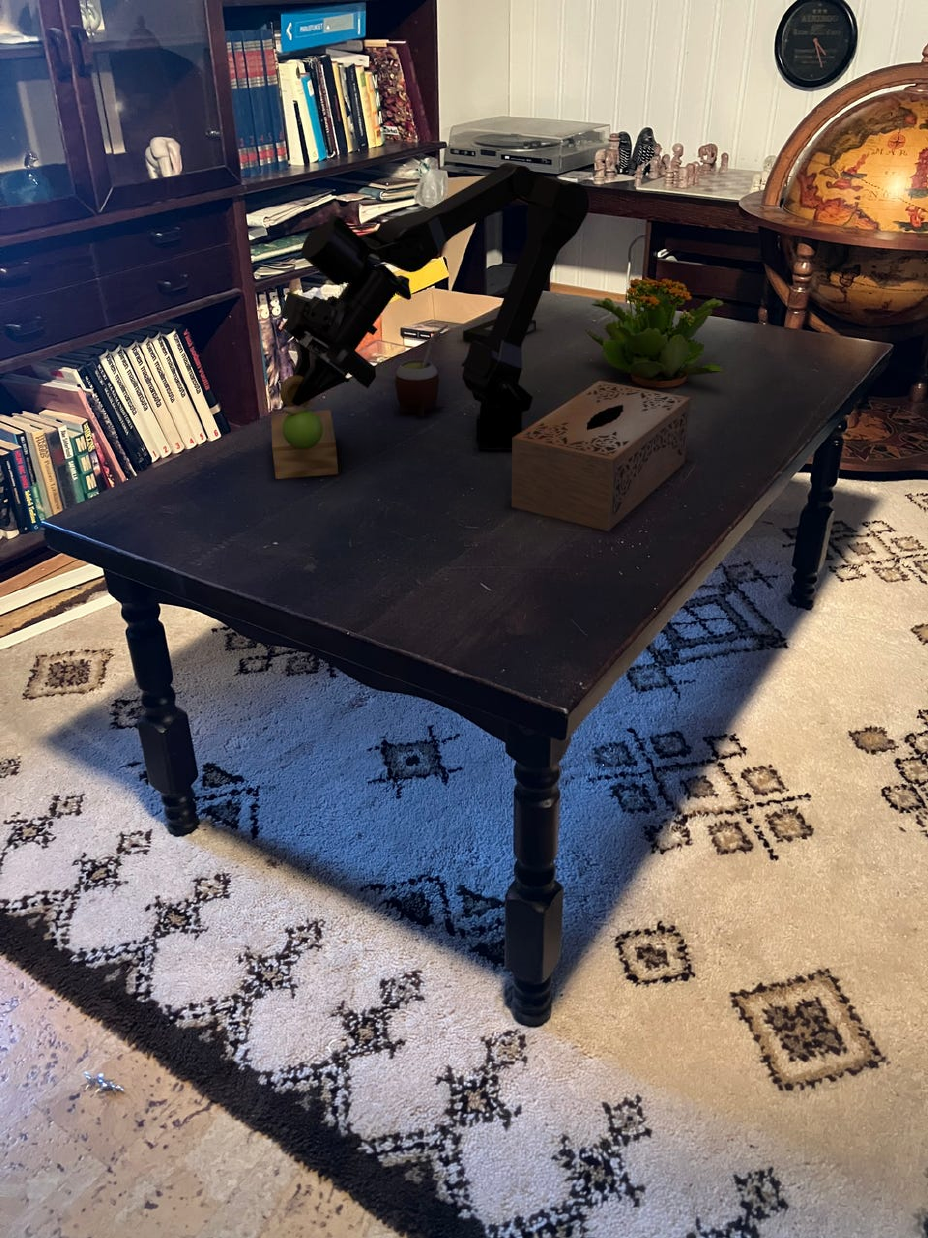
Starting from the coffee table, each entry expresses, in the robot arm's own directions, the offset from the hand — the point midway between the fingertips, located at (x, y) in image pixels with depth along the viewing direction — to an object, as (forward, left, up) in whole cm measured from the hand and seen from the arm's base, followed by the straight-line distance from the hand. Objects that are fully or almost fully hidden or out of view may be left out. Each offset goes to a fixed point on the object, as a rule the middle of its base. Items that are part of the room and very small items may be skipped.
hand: (291, 401), depth 141 cm
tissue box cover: (-42, -5, -13) cm, 44 cm away
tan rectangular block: (+2, -12, -13) cm, 18 cm away
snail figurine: (-1, -1, -7) cm, 7 cm away
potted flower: (-53, -49, -13) cm, 74 cm away
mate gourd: (-13, -32, -13) cm, 37 cm away
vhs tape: (-24, -75, -13) cm, 80 cm away
